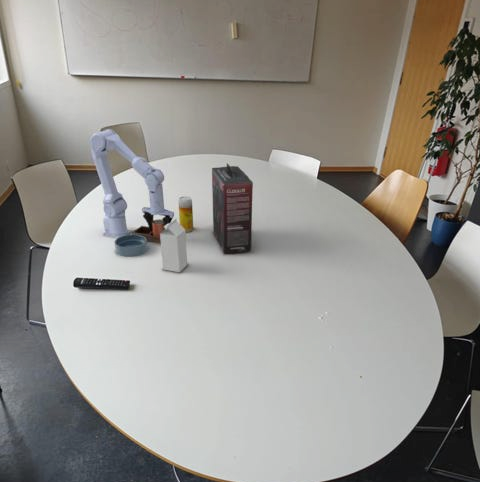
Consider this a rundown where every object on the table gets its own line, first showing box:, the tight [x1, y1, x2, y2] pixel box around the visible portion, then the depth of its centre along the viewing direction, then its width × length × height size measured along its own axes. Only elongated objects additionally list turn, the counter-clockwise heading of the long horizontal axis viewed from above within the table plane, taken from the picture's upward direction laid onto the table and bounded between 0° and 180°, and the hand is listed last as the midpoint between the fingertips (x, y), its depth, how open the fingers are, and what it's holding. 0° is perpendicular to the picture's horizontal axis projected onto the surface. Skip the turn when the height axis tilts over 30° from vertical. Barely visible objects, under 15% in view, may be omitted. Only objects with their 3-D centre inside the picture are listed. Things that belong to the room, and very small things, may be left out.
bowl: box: [114, 234, 149, 258], centre depth 180 cm, size 13×13×4 cm
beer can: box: [178, 196, 194, 233], centre depth 197 cm, size 6×6×15 cm
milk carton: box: [160, 218, 188, 273], centre depth 165 cm, size 7×7×19 cm
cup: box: [152, 218, 165, 237], centre depth 188 cm, size 6×6×8 cm
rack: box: [131, 225, 161, 245], centre depth 191 cm, size 16×8×4 cm, turn 69°
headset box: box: [211, 163, 254, 254], centre depth 182 cm, size 25×12×33 cm, turn 14°
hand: (159, 230), depth 188 cm, fingers open, 7 cm apart
